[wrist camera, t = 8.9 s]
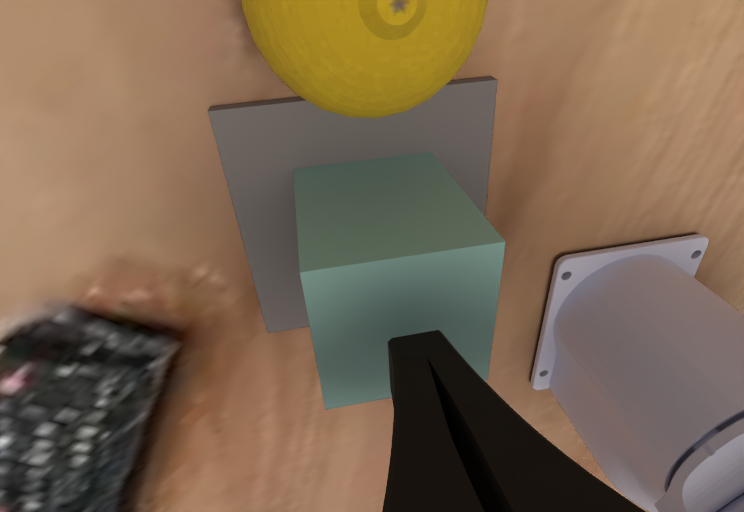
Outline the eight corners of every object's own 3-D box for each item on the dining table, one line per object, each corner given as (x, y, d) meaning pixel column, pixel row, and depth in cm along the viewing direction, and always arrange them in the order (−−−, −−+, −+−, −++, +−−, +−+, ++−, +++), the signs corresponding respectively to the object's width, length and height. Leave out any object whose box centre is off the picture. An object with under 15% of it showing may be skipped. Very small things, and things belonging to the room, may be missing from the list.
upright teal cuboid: (429, 264, 19) (487, 379, 14) (312, 282, 19) (325, 409, 13) (431, 151, 16) (505, 241, 11) (293, 169, 16) (299, 272, 10)
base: (472, 290, 21) (477, 298, 21) (268, 324, 20) (267, 333, 20) (490, 76, 16) (497, 79, 15) (210, 106, 15) (207, 111, 14)
